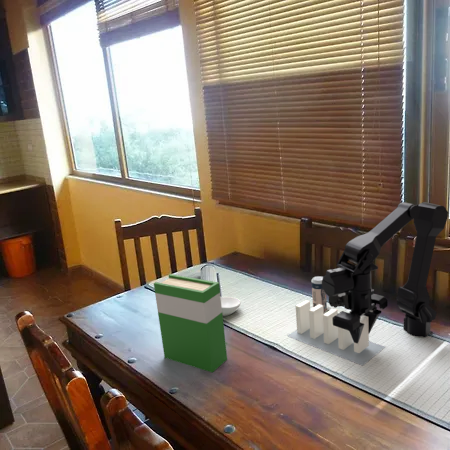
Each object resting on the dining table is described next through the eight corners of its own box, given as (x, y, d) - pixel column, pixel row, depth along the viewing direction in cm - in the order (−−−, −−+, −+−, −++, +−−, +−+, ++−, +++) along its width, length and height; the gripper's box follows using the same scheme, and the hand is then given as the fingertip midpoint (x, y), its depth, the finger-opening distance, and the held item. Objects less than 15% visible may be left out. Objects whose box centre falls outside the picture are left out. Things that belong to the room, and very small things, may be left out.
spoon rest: (223, 302, 173) (222, 284, 171) (248, 309, 165) (246, 291, 163) (176, 328, 156) (173, 309, 154) (200, 338, 148) (198, 317, 147)
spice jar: (327, 314, 155) (325, 281, 152) (312, 314, 156) (311, 281, 153) (327, 307, 160) (325, 275, 156) (313, 307, 161) (311, 275, 158)
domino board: (385, 349, 131) (385, 346, 131) (362, 368, 124) (362, 365, 123) (311, 323, 150) (310, 320, 150) (287, 338, 142) (286, 335, 142)
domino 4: (353, 342, 135) (352, 314, 132) (343, 349, 131) (342, 321, 129) (348, 341, 136) (347, 313, 133) (338, 348, 133) (337, 319, 130)
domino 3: (338, 337, 138) (337, 309, 136) (328, 344, 135) (327, 316, 133) (334, 335, 139) (332, 308, 137) (324, 342, 136) (322, 314, 134)
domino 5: (368, 345, 131) (368, 316, 128) (359, 353, 128) (358, 323, 125) (363, 344, 132) (363, 315, 130) (354, 351, 129) (353, 322, 126)
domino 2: (324, 332, 142) (323, 305, 139) (314, 339, 139) (313, 311, 136) (320, 330, 143) (319, 304, 141) (310, 337, 140) (308, 310, 137)
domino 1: (311, 327, 145) (309, 301, 143) (301, 334, 142) (299, 307, 140) (307, 326, 147) (305, 300, 144) (297, 332, 143) (295, 305, 141)
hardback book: (164, 357, 139) (153, 283, 132) (180, 346, 144) (170, 274, 138) (212, 372, 129) (203, 292, 122) (227, 359, 134) (219, 282, 128)
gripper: (353, 270, 137) (354, 318, 141) (314, 291, 125) (317, 343, 129) (388, 278, 129) (388, 329, 133) (350, 302, 117) (352, 357, 121)
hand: (361, 338), depth 129 cm, fingers closed on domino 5, 5 cm apart
